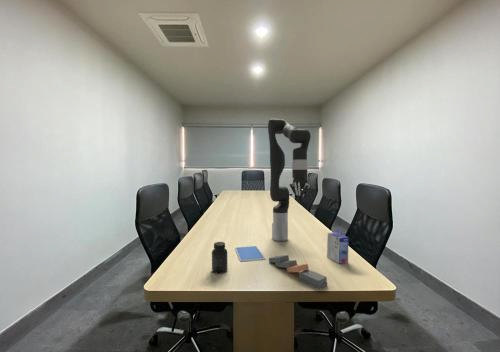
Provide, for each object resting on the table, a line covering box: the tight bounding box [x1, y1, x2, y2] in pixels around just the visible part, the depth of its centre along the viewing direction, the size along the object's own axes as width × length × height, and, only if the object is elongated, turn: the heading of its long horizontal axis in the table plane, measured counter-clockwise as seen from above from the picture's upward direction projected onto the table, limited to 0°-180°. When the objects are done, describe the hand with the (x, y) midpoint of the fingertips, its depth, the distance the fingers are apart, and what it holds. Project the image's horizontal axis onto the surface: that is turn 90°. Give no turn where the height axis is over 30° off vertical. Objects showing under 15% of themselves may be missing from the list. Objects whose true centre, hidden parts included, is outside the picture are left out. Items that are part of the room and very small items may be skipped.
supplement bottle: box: [211, 241, 229, 274], centre depth 104 cm, size 7×7×12 cm
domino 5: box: [300, 278, 328, 290], centre depth 92 cm, size 2×5×9 cm
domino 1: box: [268, 254, 290, 263], centre depth 110 cm, size 2×5×9 cm
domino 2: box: [274, 259, 298, 269], centre depth 105 cm, size 2×5×9 cm
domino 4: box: [298, 269, 328, 286], centre depth 92 cm, size 2×5×9 cm
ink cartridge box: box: [326, 228, 349, 264], centre depth 114 cm, size 10×6×14 cm, turn 15°
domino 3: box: [286, 263, 310, 273], centre depth 98 cm, size 2×5×9 cm
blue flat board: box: [234, 245, 266, 263], centre depth 124 cm, size 19×13×1 cm, turn 11°
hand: (299, 202), depth 120 cm, fingers closed
